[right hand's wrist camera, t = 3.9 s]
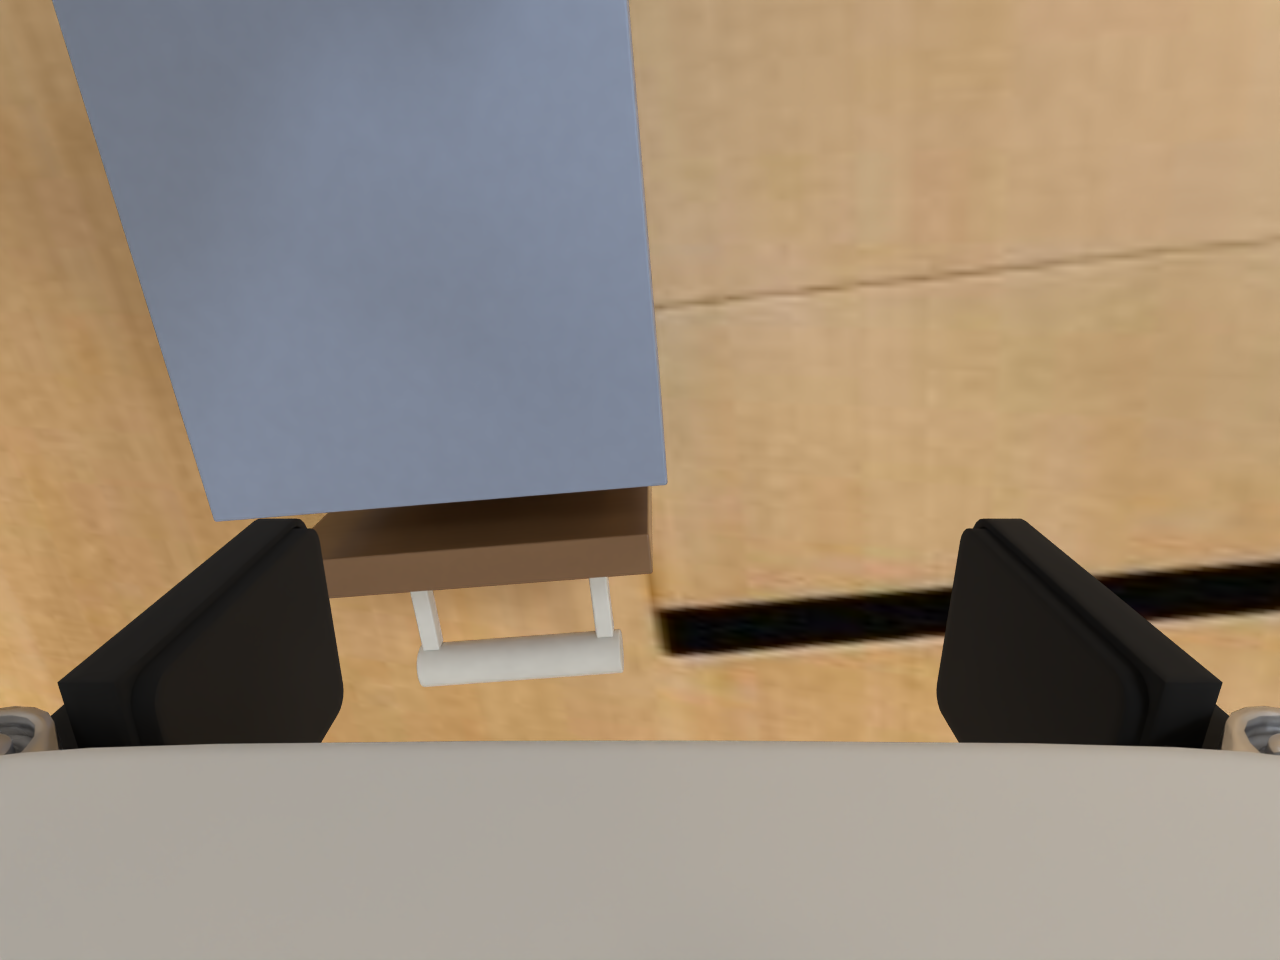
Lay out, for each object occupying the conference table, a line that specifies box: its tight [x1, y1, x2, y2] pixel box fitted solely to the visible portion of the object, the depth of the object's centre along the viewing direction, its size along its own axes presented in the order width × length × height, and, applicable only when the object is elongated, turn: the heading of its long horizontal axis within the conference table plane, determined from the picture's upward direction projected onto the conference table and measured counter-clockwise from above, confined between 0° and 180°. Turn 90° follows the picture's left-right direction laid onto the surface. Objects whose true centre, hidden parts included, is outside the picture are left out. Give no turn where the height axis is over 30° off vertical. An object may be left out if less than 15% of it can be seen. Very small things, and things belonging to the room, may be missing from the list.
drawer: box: [312, 486, 653, 687], centre depth 22 cm, size 26×10×10 cm, turn 5°
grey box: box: [52, 0, 667, 521], centre depth 20 cm, size 22×11×12 cm, turn 5°
